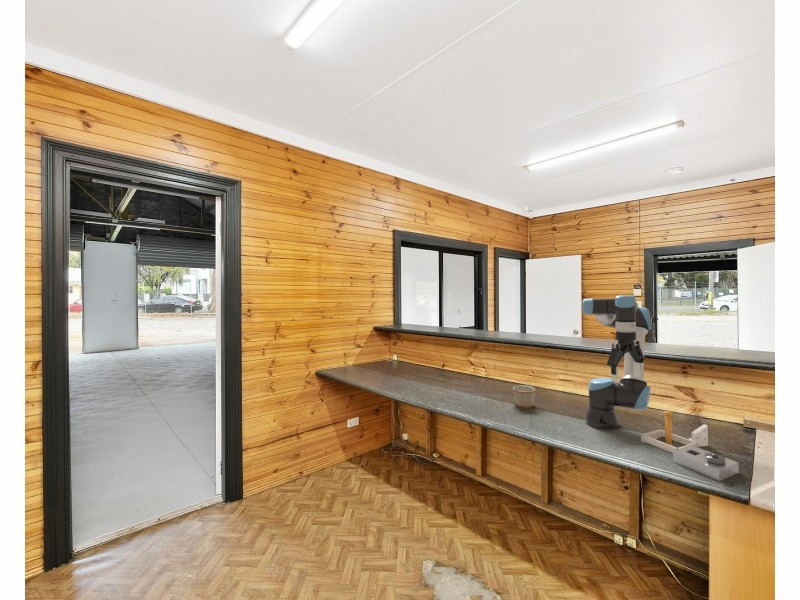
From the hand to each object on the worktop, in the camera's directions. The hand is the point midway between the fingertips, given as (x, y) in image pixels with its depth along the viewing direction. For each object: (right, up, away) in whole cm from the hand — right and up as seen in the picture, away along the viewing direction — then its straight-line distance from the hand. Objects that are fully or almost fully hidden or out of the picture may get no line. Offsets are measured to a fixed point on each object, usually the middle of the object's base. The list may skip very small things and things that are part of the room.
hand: (626, 379), depth 160 cm
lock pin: (+21, -30, +3) cm, 37 cm away
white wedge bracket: (+33, -30, +2) cm, 45 cm away
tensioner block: (+21, -32, -16) cm, 41 cm away
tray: (+21, -31, +3) cm, 37 cm away
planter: (-23, -29, +62) cm, 72 cm away
